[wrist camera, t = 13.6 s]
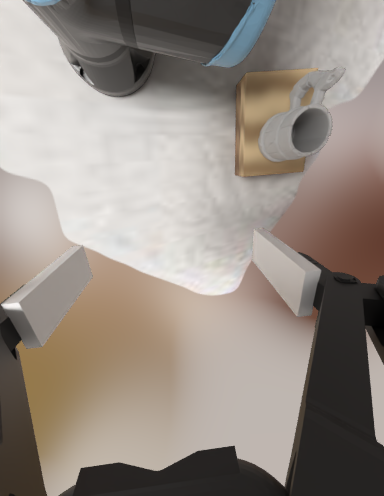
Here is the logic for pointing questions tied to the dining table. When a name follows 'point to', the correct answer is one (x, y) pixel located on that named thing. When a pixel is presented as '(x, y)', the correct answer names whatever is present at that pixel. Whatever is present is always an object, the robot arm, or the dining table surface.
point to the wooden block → (264, 118)
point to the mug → (300, 120)
